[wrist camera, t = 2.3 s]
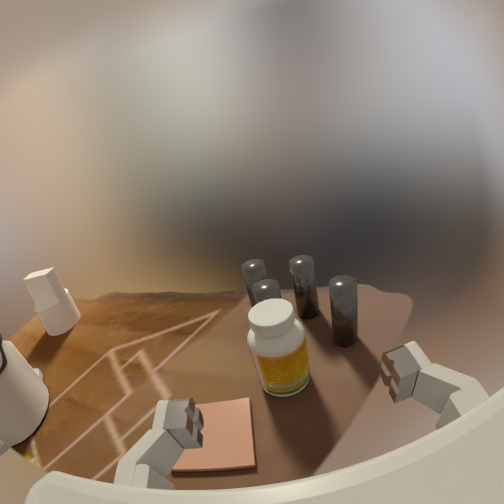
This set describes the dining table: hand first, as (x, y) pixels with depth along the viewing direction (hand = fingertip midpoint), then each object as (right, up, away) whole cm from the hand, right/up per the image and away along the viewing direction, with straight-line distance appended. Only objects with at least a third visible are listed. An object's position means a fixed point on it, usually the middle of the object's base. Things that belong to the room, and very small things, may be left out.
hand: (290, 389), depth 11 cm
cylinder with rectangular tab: (-41, -10, +38) cm, 57 cm away
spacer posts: (+5, -4, +25) cm, 26 cm away
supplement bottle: (+2, -8, +18) cm, 20 cm away
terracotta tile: (-5, -12, +12) cm, 18 cm away
